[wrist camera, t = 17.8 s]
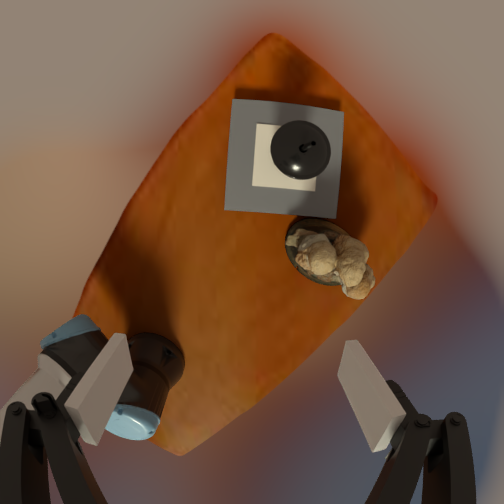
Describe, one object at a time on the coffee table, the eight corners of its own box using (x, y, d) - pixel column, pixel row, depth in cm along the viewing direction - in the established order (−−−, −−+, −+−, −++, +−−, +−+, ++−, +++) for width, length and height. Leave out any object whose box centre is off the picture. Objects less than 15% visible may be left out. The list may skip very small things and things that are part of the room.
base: (225, 208, 50) (224, 210, 47) (233, 103, 45) (232, 98, 42) (331, 216, 51) (336, 219, 47) (338, 115, 45) (344, 111, 42)
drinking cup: (315, 167, 45) (360, 161, 26) (277, 187, 46) (298, 193, 27) (294, 128, 43) (326, 97, 24) (256, 148, 44) (261, 127, 25)
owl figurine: (267, 255, 53) (275, 289, 36) (298, 202, 50) (321, 212, 34) (340, 295, 55) (371, 337, 39) (370, 247, 52) (413, 274, 36)
